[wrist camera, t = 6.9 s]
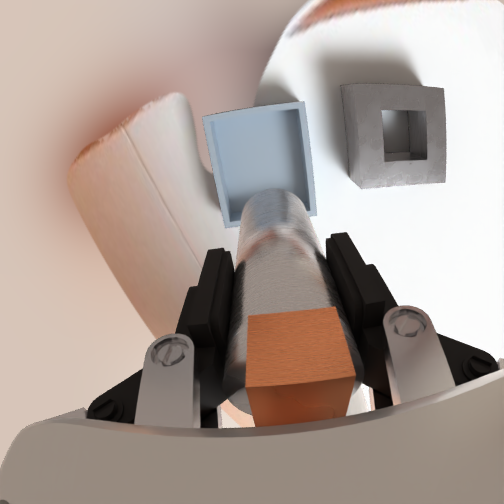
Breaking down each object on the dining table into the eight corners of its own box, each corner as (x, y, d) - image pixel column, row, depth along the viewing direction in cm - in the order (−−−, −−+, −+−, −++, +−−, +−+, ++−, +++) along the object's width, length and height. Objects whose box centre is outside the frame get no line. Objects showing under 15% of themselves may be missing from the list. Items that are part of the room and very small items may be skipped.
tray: (311, 205, 31) (316, 215, 29) (227, 216, 32) (225, 228, 30) (299, 101, 26) (304, 101, 23) (207, 115, 27) (201, 116, 24)
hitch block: (427, 172, 29) (445, 182, 25) (349, 178, 30) (361, 189, 26) (424, 87, 24) (443, 88, 21) (340, 85, 25) (352, 83, 21)
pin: (304, 169, 14) (410, 363, 4) (308, 258, 16) (358, 467, 6) (234, 176, 14) (184, 388, 4) (247, 264, 17) (237, 479, 6)
